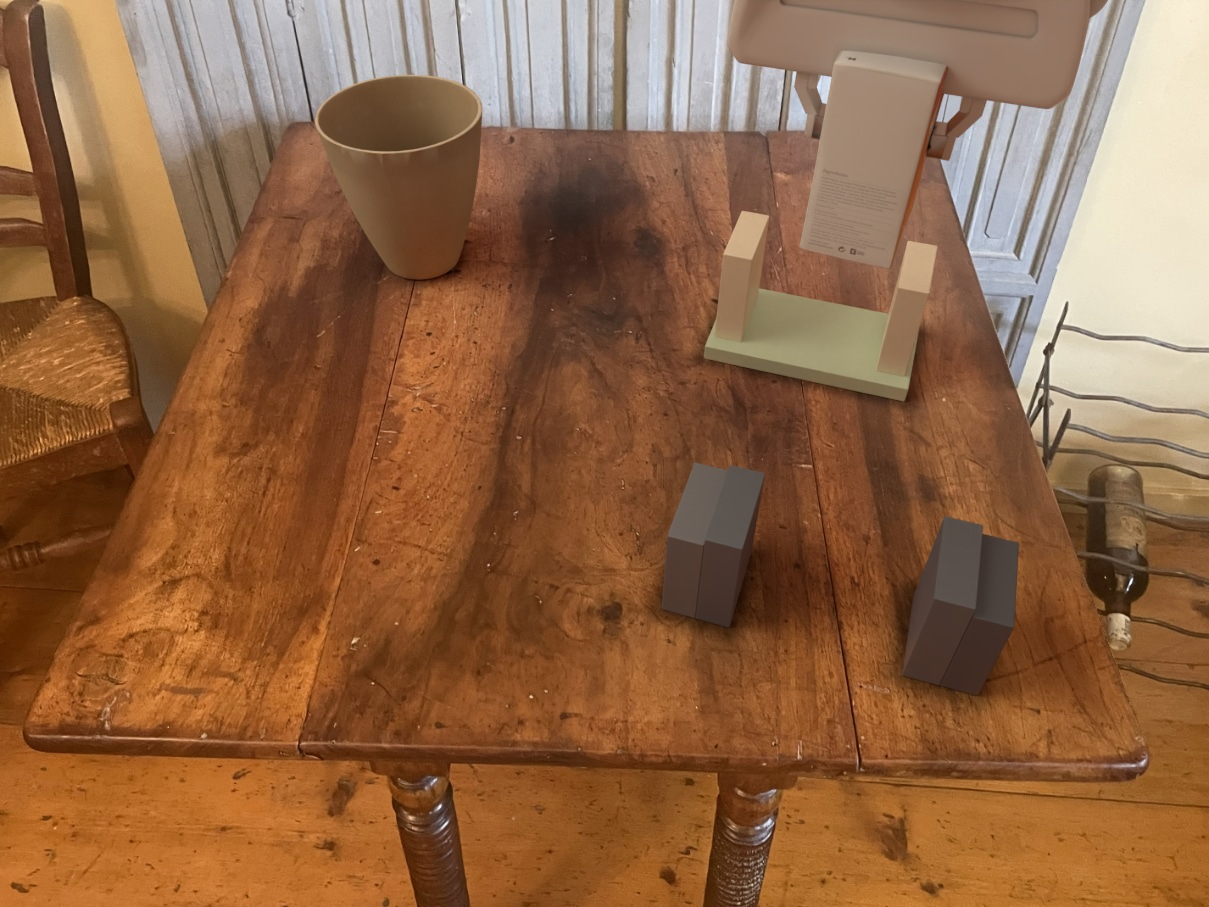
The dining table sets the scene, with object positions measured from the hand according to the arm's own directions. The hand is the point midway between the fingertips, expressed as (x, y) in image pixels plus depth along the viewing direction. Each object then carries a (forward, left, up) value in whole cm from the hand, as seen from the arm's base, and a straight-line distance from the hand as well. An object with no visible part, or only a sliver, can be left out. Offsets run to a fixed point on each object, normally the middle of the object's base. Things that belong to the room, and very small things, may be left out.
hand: (875, 145), depth 63 cm
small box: (0, 0, -7) cm, 7 cm away
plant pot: (+42, -13, -27) cm, 51 cm away
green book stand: (+2, -12, -27) cm, 29 cm away
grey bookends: (-4, +17, -27) cm, 32 cm away
